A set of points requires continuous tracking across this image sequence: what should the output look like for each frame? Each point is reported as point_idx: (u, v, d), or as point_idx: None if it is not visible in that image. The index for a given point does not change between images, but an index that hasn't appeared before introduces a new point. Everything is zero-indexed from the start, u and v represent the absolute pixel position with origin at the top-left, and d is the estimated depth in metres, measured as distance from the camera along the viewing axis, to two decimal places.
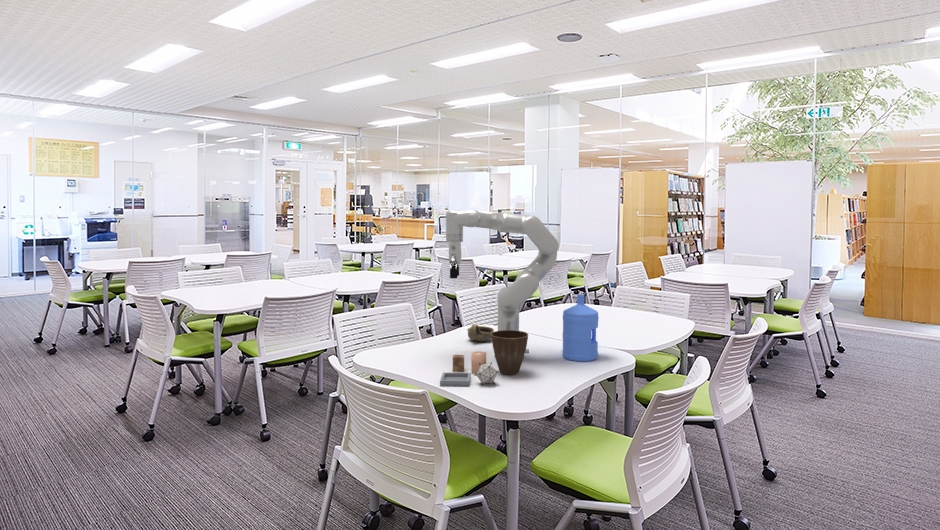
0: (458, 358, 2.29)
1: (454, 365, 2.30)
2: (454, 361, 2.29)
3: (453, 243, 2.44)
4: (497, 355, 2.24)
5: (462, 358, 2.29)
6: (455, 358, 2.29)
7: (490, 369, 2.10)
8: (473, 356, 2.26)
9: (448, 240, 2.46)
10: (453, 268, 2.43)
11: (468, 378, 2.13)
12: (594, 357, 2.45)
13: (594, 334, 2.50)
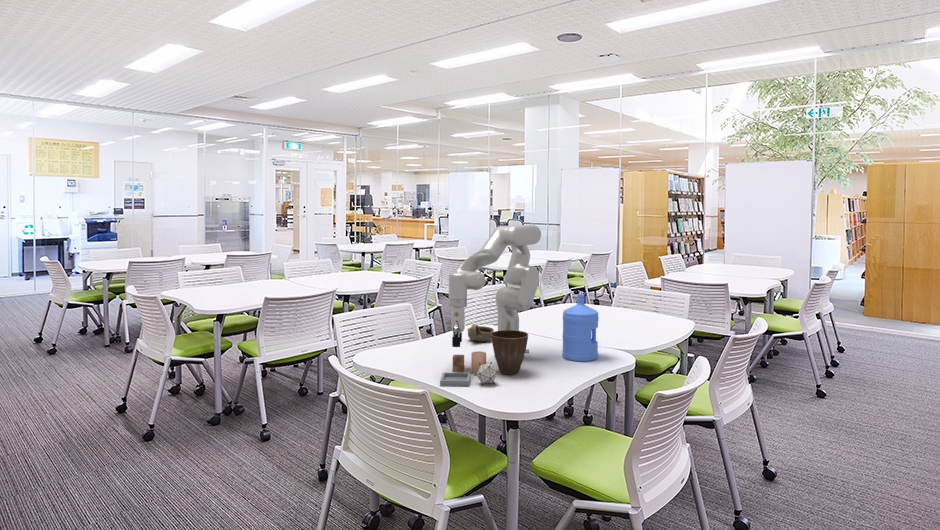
0: (458, 358, 2.29)
1: (454, 365, 2.30)
2: (454, 361, 2.29)
3: (456, 309, 2.25)
4: (497, 355, 2.24)
5: (462, 358, 2.29)
6: (455, 358, 2.29)
7: (490, 369, 2.10)
8: (473, 356, 2.26)
9: (451, 305, 2.27)
10: (456, 336, 2.24)
11: (468, 378, 2.13)
12: (594, 357, 2.45)
13: (594, 334, 2.50)
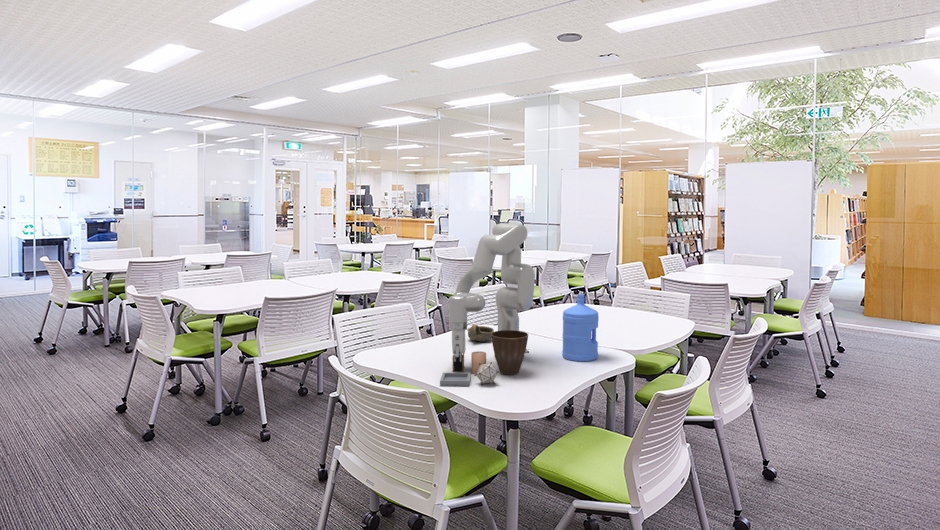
0: None
1: None
2: None
3: (457, 332, 2.26)
4: (497, 355, 2.24)
5: (462, 358, 2.29)
6: None
7: (490, 369, 2.10)
8: (473, 356, 2.26)
9: (451, 328, 2.28)
10: (457, 361, 2.27)
11: (468, 378, 2.13)
12: (594, 357, 2.45)
13: (594, 334, 2.50)
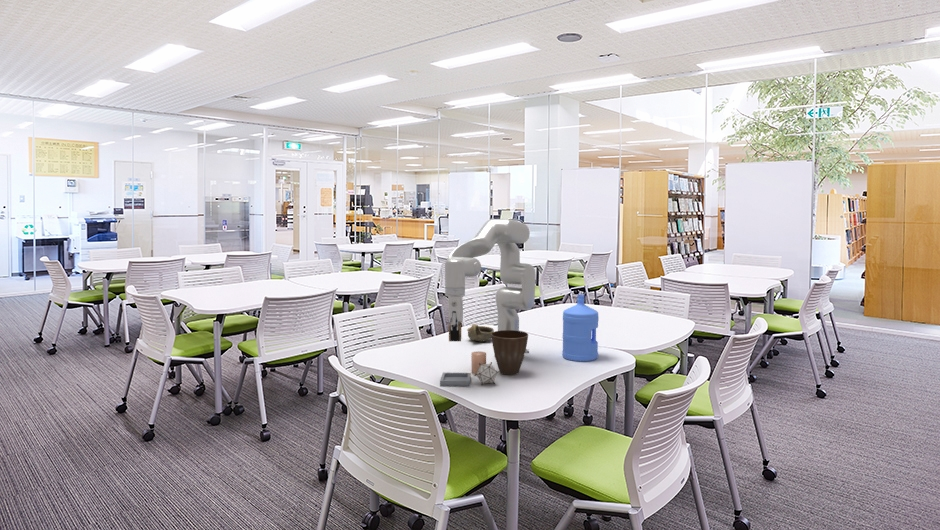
0: None
1: (450, 334, 2.12)
2: (450, 330, 2.12)
3: (454, 298, 2.08)
4: (497, 355, 2.24)
5: (459, 326, 2.12)
6: None
7: (490, 369, 2.10)
8: (473, 356, 2.26)
9: (448, 294, 2.10)
10: (454, 329, 2.10)
11: (468, 378, 2.13)
12: (594, 357, 2.45)
13: (594, 334, 2.50)
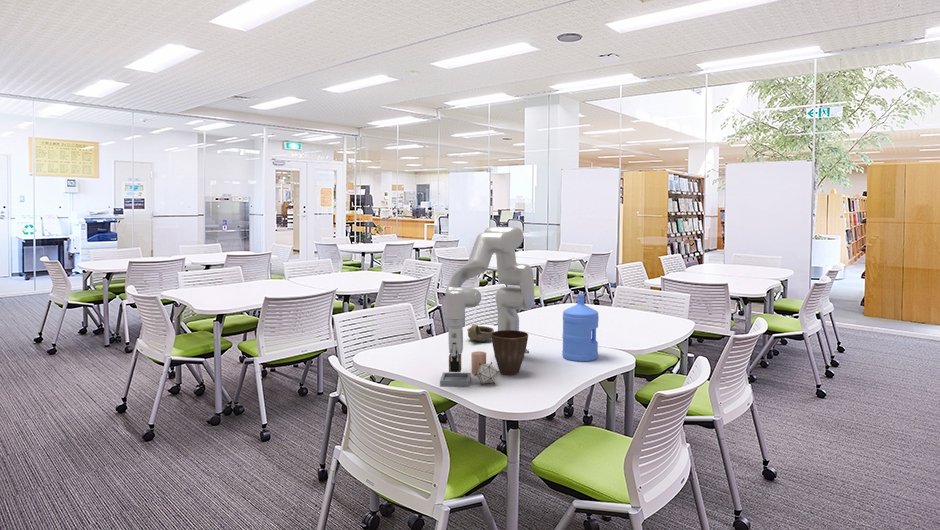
0: None
1: (450, 365, 2.13)
2: (450, 360, 2.13)
3: (454, 329, 2.10)
4: (497, 355, 2.24)
5: (459, 357, 2.13)
6: None
7: (490, 369, 2.10)
8: (473, 356, 2.26)
9: (448, 325, 2.11)
10: (454, 360, 2.11)
11: (468, 378, 2.13)
12: (594, 357, 2.45)
13: (594, 334, 2.50)
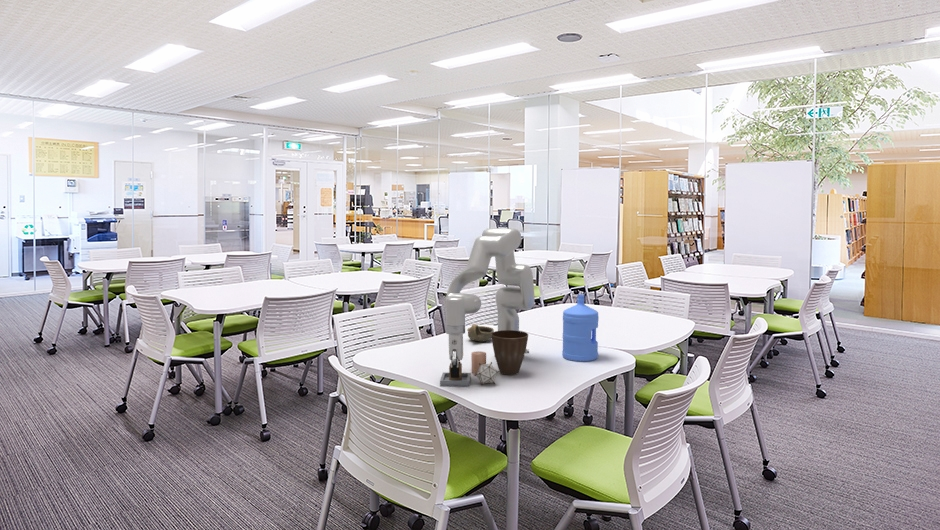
0: None
1: None
2: None
3: (454, 336, 2.10)
4: (497, 355, 2.24)
5: (459, 367, 2.13)
6: None
7: (490, 369, 2.10)
8: (473, 356, 2.26)
9: (448, 332, 2.12)
10: (454, 367, 2.10)
11: (468, 378, 2.13)
12: (594, 357, 2.45)
13: (594, 334, 2.50)
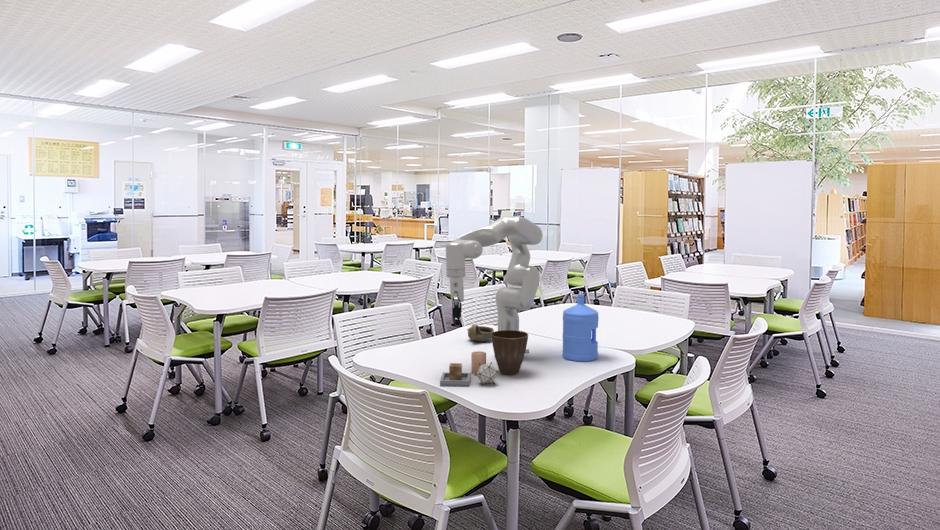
0: (455, 367, 2.13)
1: (451, 375, 2.14)
2: (451, 370, 2.13)
3: (455, 279, 2.20)
4: (497, 355, 2.24)
5: (459, 367, 2.13)
6: (452, 367, 2.13)
7: (490, 369, 2.10)
8: (473, 356, 2.26)
9: (449, 275, 2.22)
10: (456, 307, 2.20)
11: (468, 378, 2.13)
12: (594, 357, 2.45)
13: (594, 334, 2.50)
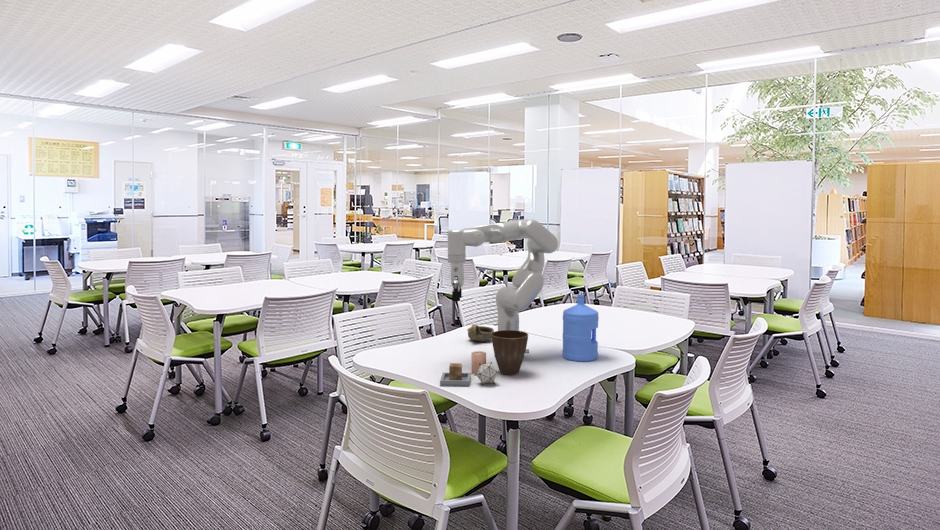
0: (455, 367, 2.13)
1: (451, 375, 2.14)
2: (451, 370, 2.13)
3: (455, 264, 2.31)
4: (497, 355, 2.24)
5: (459, 367, 2.13)
6: (452, 367, 2.13)
7: (490, 369, 2.10)
8: (473, 356, 2.26)
9: (450, 261, 2.33)
10: (456, 291, 2.31)
11: (468, 378, 2.13)
12: (594, 357, 2.45)
13: (594, 334, 2.50)
